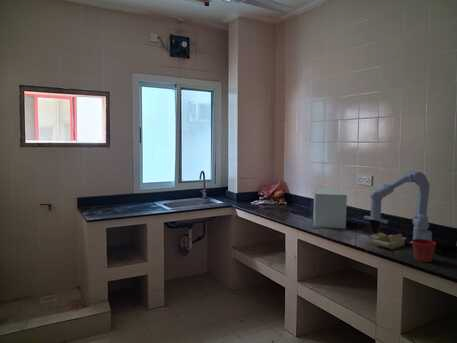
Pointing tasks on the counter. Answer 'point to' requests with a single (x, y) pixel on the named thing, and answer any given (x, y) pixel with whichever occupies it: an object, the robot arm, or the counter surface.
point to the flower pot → (423, 249)
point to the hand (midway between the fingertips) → (374, 232)
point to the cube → (330, 208)
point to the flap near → (396, 238)
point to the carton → (388, 242)
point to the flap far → (378, 235)
